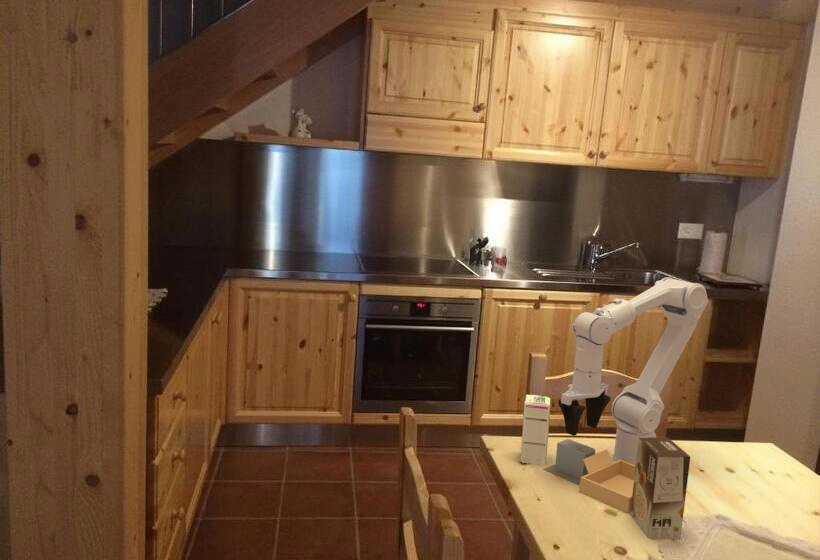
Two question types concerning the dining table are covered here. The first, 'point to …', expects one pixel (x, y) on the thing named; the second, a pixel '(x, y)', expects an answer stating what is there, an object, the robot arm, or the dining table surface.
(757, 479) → the dining table surface
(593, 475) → the carton
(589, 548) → the dining table surface
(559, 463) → the block
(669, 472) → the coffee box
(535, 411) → the syrup box
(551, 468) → the mat
